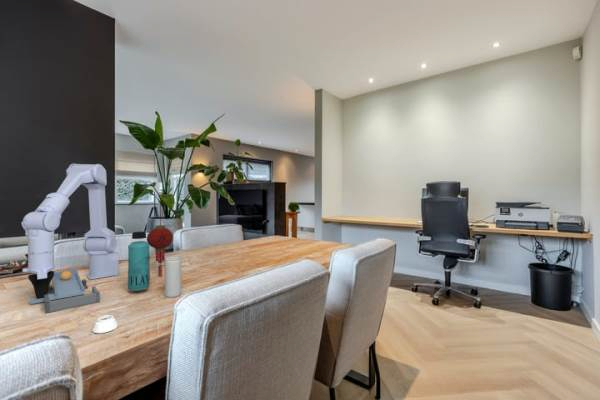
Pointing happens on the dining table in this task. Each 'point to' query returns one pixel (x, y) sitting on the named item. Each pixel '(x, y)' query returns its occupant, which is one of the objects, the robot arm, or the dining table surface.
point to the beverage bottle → (138, 263)
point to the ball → (66, 275)
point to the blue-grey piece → (63, 287)
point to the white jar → (105, 324)
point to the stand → (53, 290)
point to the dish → (71, 301)
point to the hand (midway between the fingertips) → (41, 297)
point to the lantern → (160, 242)
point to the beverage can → (172, 277)
